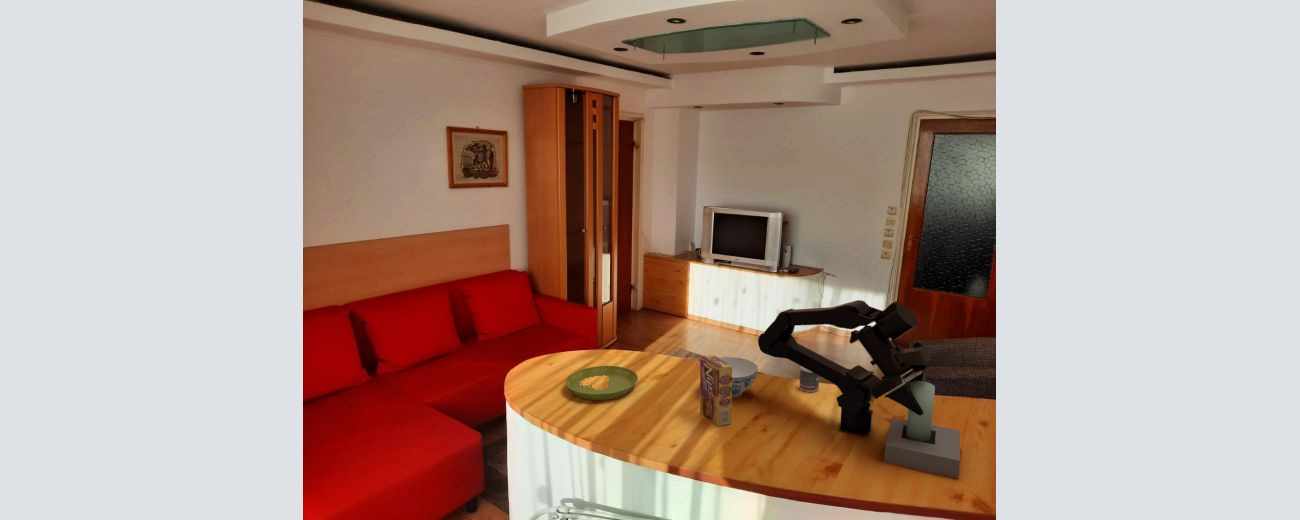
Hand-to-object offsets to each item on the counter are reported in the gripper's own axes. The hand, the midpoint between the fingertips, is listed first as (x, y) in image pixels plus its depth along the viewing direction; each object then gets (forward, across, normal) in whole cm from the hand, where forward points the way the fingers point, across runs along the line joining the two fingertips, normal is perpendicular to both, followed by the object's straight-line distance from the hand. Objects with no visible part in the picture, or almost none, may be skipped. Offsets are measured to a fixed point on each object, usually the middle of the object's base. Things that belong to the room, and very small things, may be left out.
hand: (926, 410), depth 122 cm
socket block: (+7, -1, +7) cm, 10 cm away
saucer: (-47, -30, +63) cm, 84 cm away
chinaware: (-28, -6, +43) cm, 52 cm away
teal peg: (+4, 0, +6) cm, 7 cm away
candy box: (-23, -20, +38) cm, 49 cm away
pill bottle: (-18, +12, +33) cm, 40 cm away
